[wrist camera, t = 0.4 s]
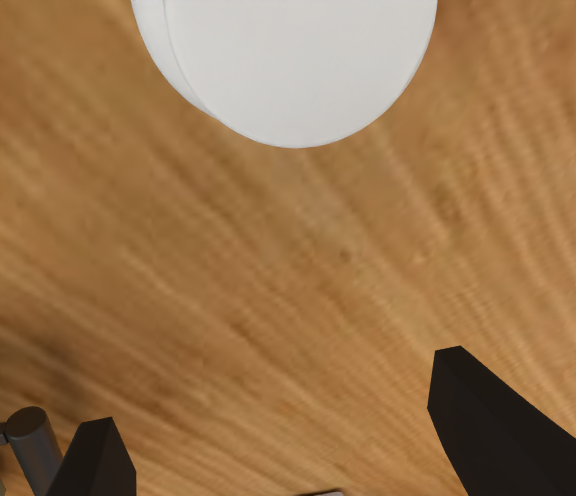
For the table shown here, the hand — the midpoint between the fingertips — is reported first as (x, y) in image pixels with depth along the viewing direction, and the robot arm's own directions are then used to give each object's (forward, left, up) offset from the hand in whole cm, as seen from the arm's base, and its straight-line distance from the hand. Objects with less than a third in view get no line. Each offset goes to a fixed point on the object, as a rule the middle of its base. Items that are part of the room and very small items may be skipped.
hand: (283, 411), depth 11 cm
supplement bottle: (+8, 0, -10) cm, 13 cm away
